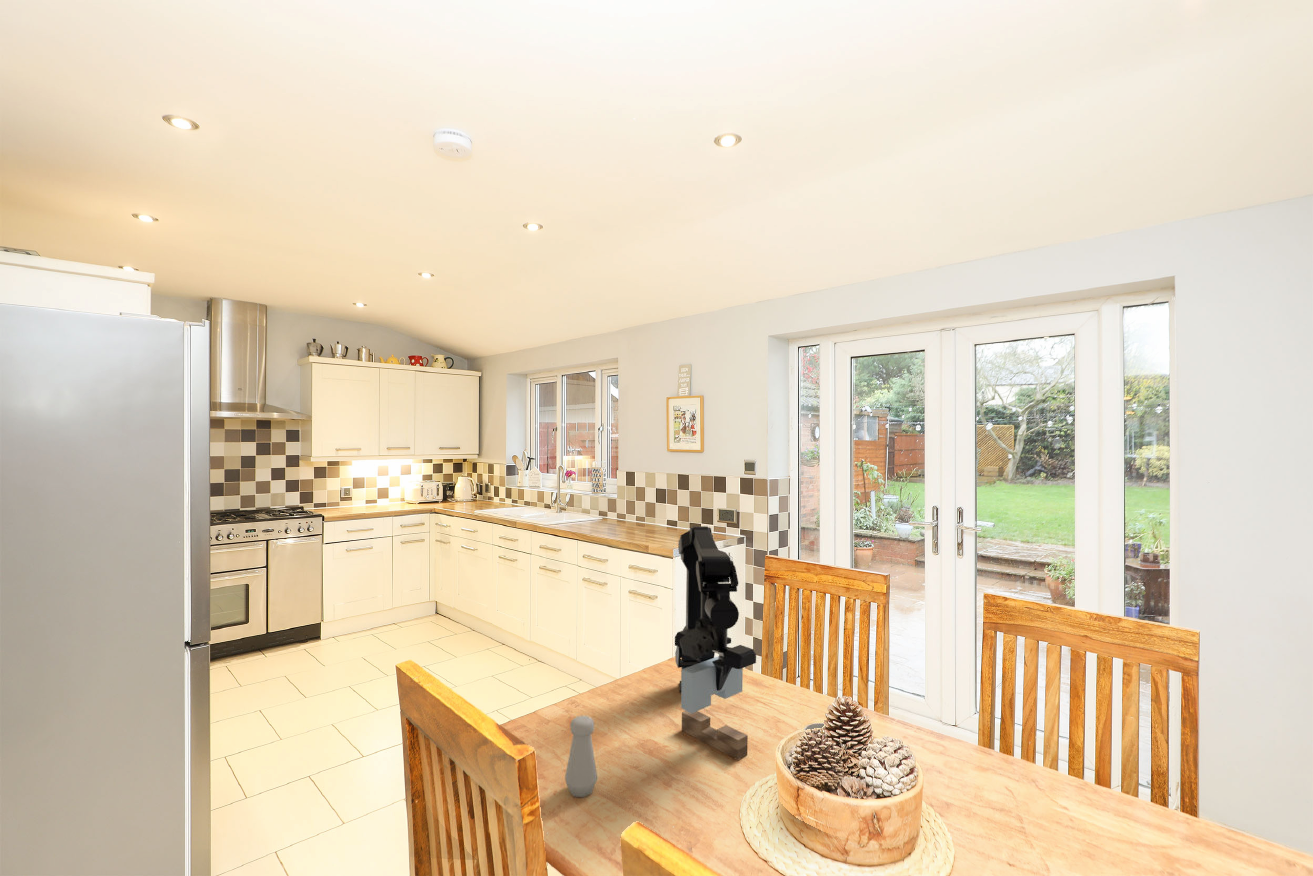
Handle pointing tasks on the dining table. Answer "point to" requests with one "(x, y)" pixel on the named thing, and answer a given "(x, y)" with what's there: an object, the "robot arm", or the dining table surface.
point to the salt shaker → (581, 758)
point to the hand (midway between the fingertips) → (713, 687)
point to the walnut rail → (715, 734)
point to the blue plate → (706, 685)
